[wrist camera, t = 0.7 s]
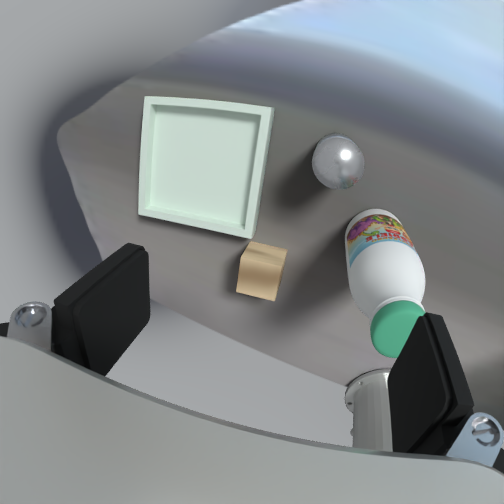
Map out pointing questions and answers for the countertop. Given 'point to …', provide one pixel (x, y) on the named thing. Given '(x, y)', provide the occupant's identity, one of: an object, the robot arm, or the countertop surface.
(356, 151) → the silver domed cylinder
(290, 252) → the countertop surface
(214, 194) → the sage tray
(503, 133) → the countertop surface
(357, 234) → the milk bottle
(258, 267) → the oak block
